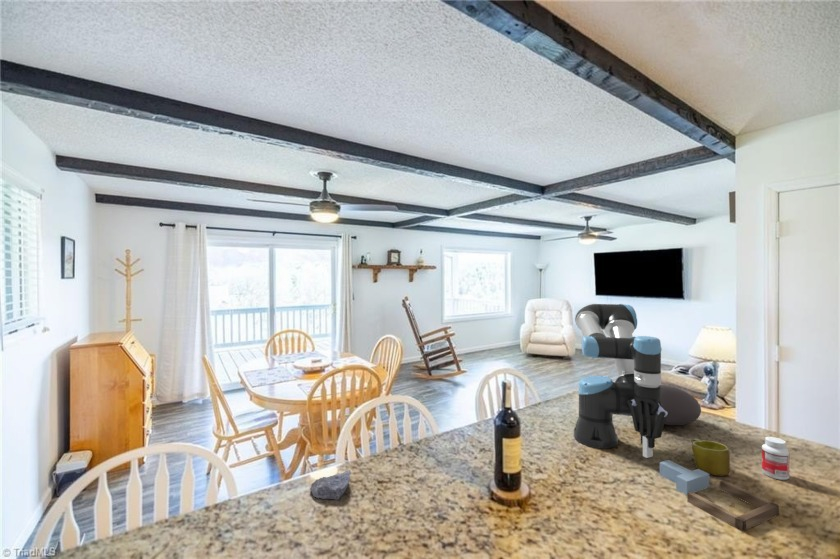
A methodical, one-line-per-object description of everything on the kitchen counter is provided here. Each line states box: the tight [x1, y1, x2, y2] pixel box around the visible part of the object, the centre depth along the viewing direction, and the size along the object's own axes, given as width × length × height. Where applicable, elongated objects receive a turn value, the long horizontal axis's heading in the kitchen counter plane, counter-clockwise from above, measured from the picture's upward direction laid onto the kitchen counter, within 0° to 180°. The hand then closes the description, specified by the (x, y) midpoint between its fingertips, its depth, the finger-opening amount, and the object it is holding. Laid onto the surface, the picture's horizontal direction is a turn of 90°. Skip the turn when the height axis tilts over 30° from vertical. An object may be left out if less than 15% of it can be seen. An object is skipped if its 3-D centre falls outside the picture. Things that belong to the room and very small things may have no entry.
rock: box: [309, 469, 352, 501], centre depth 107 cm, size 12×5×10 cm
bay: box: [686, 479, 780, 532], centre depth 98 cm, size 13×16×2 cm
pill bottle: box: [761, 436, 790, 481], centre depth 113 cm, size 6×6×11 cm
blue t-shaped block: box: [659, 459, 710, 496], centre depth 110 cm, size 10×10×4 cm
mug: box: [690, 438, 731, 477], centre depth 118 cm, size 12×10×10 cm
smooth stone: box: [656, 384, 702, 426], centre depth 155 cm, size 25×25×15 cm
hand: (647, 455), depth 120 cm, fingers closed
